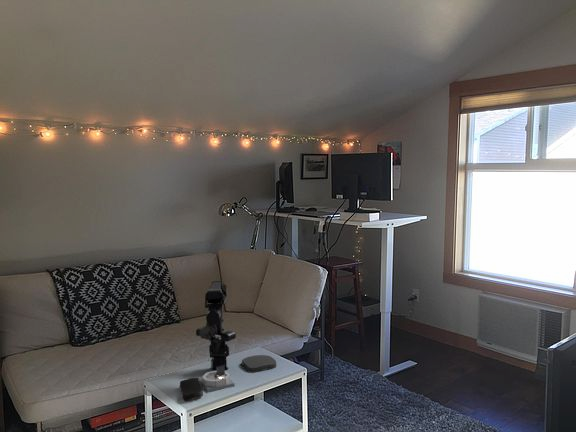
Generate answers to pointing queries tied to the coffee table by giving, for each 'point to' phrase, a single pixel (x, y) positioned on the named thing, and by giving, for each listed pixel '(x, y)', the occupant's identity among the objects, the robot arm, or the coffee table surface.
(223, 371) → the dial
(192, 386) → the black sponge
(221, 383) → the dial panel
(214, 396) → the coffee table surface
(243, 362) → the media streaming box
